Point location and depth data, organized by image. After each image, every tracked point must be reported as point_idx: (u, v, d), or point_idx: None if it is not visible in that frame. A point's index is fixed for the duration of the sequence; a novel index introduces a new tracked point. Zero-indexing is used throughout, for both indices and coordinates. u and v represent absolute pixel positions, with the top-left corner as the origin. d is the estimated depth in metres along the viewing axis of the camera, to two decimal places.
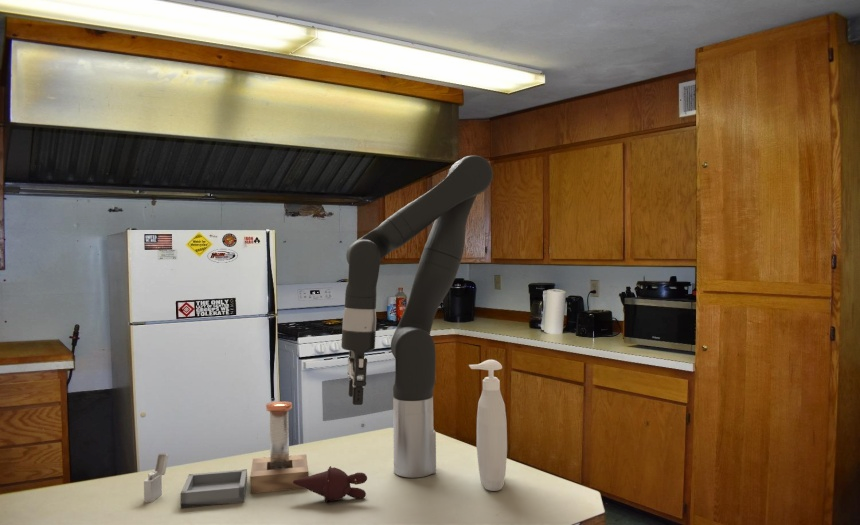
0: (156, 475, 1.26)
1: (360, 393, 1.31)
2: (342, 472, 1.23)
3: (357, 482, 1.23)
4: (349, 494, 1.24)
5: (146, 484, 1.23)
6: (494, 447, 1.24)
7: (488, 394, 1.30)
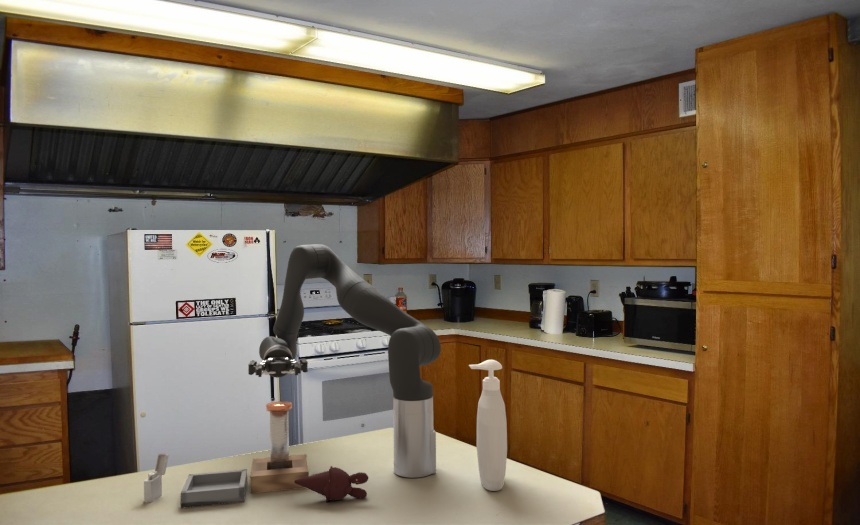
0: (156, 475, 1.26)
1: None
2: (343, 472, 1.23)
3: (358, 482, 1.23)
4: (350, 494, 1.24)
5: (146, 484, 1.23)
6: (494, 447, 1.24)
7: (488, 394, 1.30)
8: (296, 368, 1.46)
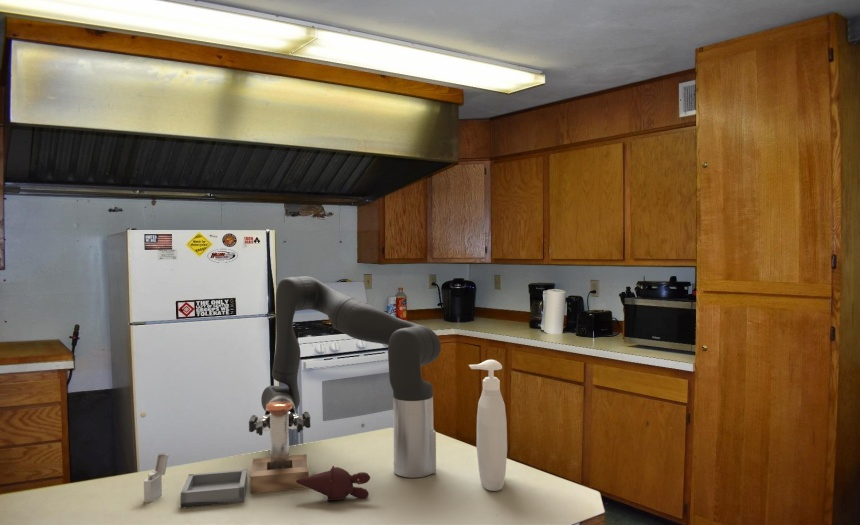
0: (156, 475, 1.26)
1: None
2: (345, 472, 1.23)
3: (360, 482, 1.23)
4: (352, 494, 1.24)
5: (146, 484, 1.23)
6: (494, 447, 1.24)
7: (488, 394, 1.30)
8: (298, 425, 1.41)
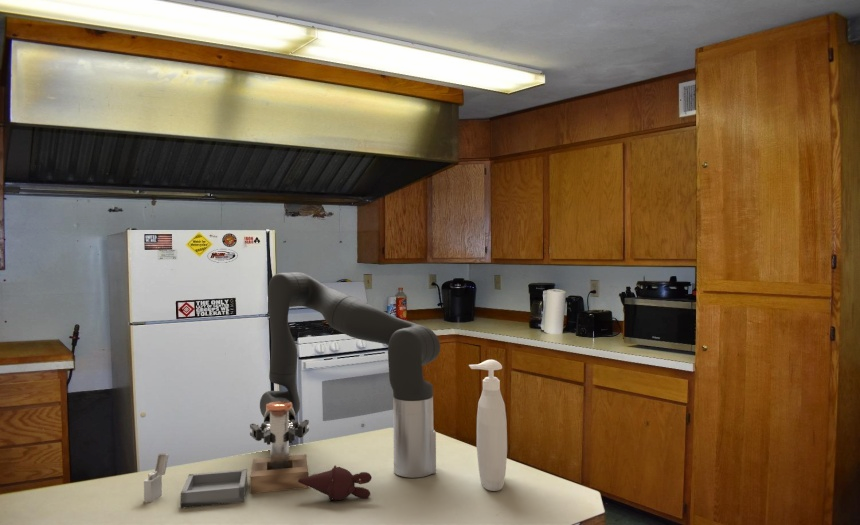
0: (156, 475, 1.26)
1: None
2: (347, 471, 1.24)
3: (361, 482, 1.23)
4: (353, 493, 1.24)
5: (146, 484, 1.23)
6: (494, 447, 1.24)
7: (488, 394, 1.30)
8: (290, 435, 1.32)
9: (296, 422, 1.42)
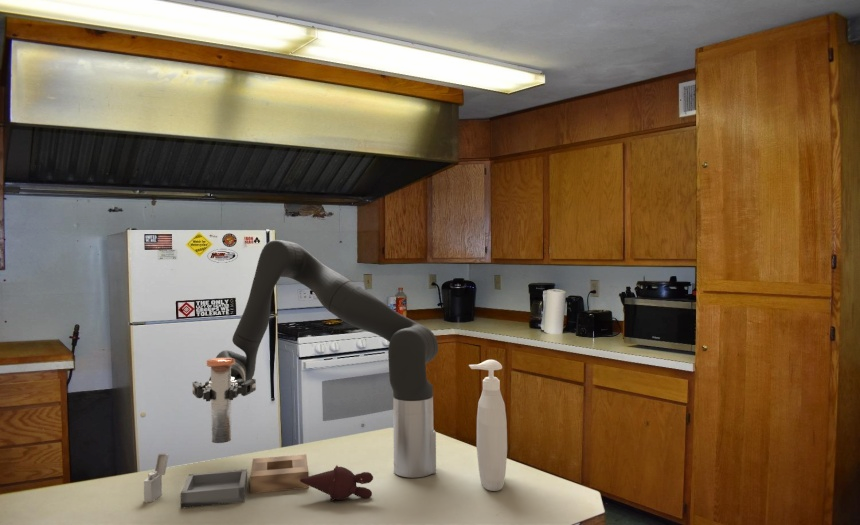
0: (156, 475, 1.26)
1: None
2: (348, 471, 1.24)
3: (363, 481, 1.23)
4: (355, 493, 1.24)
5: (146, 484, 1.23)
6: (494, 447, 1.24)
7: (488, 394, 1.30)
8: (230, 392, 1.26)
9: (242, 381, 1.36)
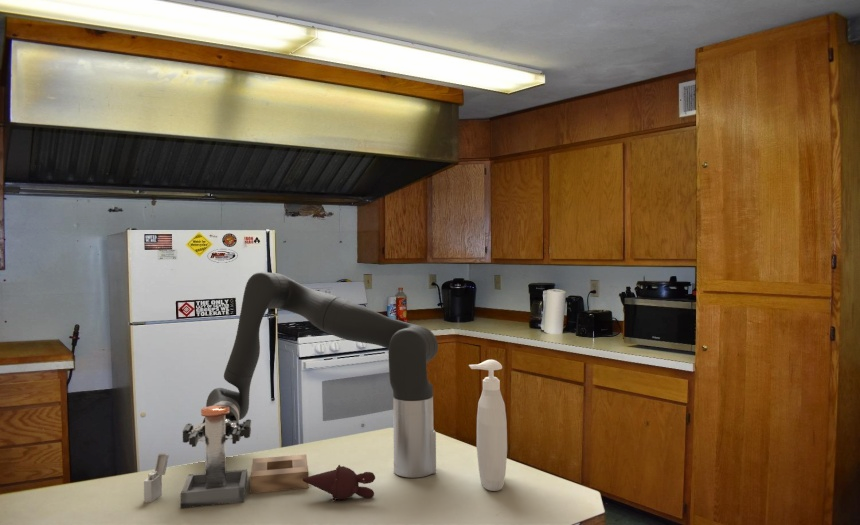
0: (156, 475, 1.26)
1: None
2: (350, 471, 1.24)
3: (365, 481, 1.23)
4: (357, 493, 1.24)
5: (146, 484, 1.23)
6: (494, 447, 1.24)
7: (488, 394, 1.30)
8: (233, 435, 1.26)
9: (237, 423, 1.35)
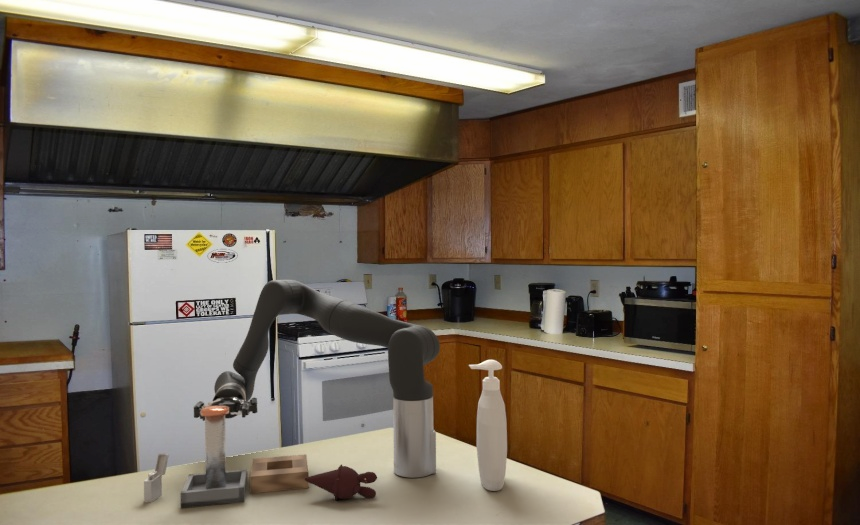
0: (156, 475, 1.26)
1: None
2: (352, 471, 1.24)
3: (367, 481, 1.23)
4: (359, 493, 1.24)
5: (146, 484, 1.23)
6: (494, 447, 1.24)
7: (488, 394, 1.30)
8: (243, 410, 1.39)
9: (244, 401, 1.48)
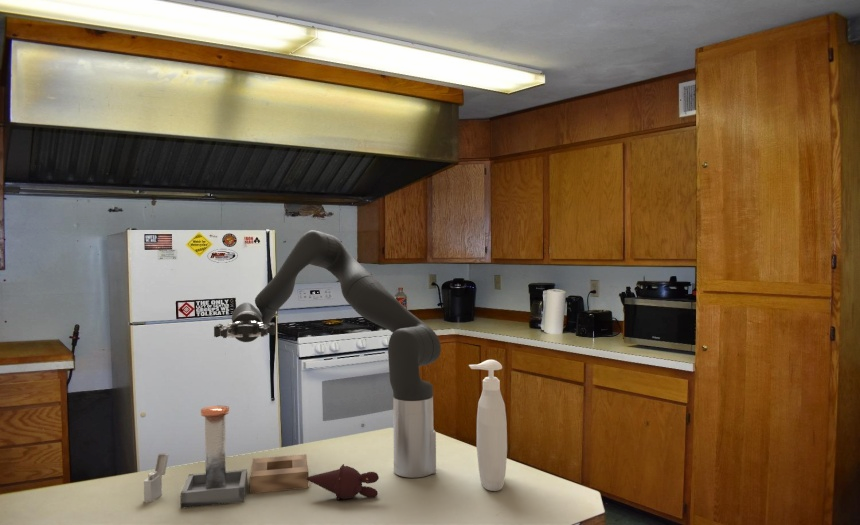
0: (156, 475, 1.26)
1: None
2: (354, 471, 1.24)
3: (368, 481, 1.23)
4: (361, 493, 1.24)
5: (146, 484, 1.23)
6: (494, 447, 1.24)
7: (488, 394, 1.30)
8: (262, 329, 1.43)
9: None
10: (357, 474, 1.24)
